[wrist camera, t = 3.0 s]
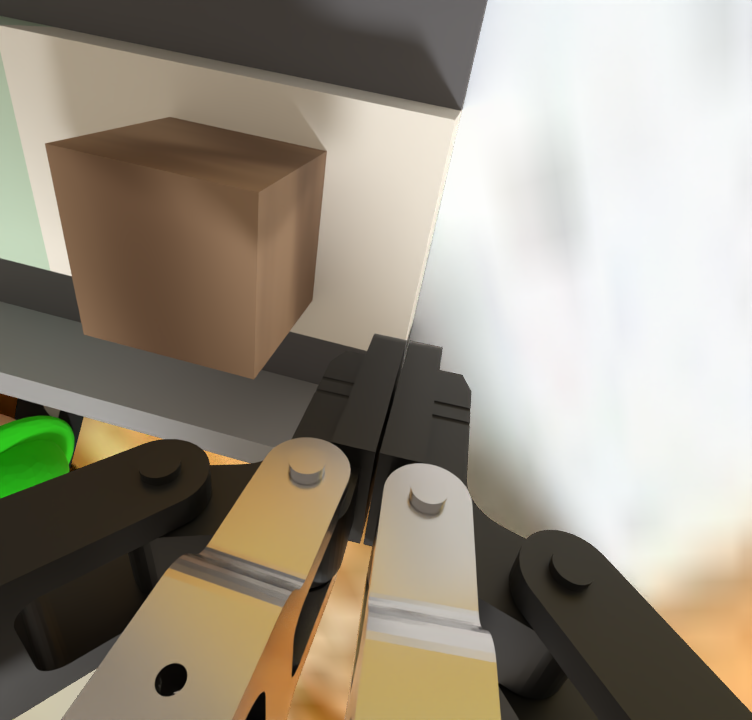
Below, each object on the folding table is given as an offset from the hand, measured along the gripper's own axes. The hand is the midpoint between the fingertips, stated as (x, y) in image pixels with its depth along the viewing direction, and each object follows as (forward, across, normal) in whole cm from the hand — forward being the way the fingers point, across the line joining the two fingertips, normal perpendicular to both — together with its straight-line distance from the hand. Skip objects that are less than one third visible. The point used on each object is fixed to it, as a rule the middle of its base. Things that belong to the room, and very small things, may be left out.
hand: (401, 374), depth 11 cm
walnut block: (+6, +6, -1) cm, 9 cm away
